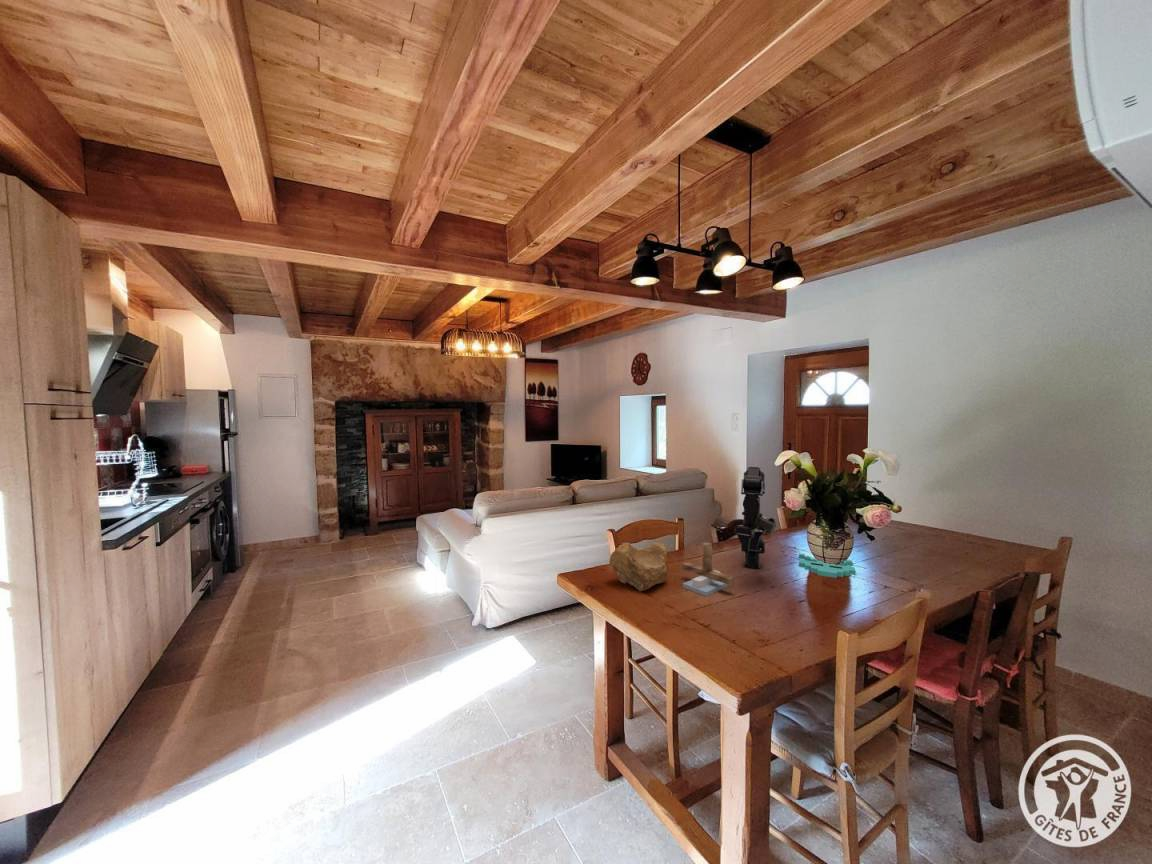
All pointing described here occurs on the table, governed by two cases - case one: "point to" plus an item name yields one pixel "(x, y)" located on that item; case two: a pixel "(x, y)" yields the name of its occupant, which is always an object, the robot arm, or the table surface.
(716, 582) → the stand
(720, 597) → the table surface
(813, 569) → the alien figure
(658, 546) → the rough brown rock
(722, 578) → the wooden bar with post
